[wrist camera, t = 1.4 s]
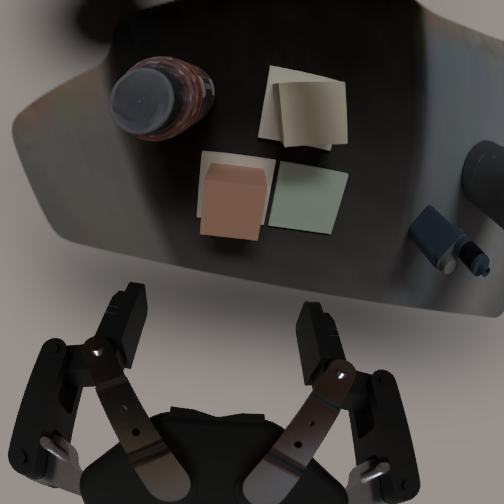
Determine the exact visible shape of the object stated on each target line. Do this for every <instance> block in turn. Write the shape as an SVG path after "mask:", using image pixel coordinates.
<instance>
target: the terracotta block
mask: <svg viewBox="0 0 504 504" xmlns="http://www.w3.org/2000/svg"><path fill="white" fill-rule="evenodd" d="M266 192H267V182H266V177H265V173H264V169H260V168H252V167H245V166H237V165H229V164H220V163H211V165H210V167H209V169H208V172H207V174H206V176H205V179H204V188H203V200H202V213H201V228H200V234H203V235H212V236H221V237H230V238H238V239H247V240H256V241H258V235H259V230H260V225H261V219H262V214H263V209H264V203H265V198H266Z"/></svg>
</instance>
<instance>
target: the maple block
mask: <svg viewBox="0 0 504 504" xmlns="http://www.w3.org/2000/svg"><path fill="white" fill-rule="evenodd" d="M272 86H273V95H274V105H275V114H276V124H277V135H278V137H279V139H280V140H281V142H282V144H283V145H284V147H291V146H305V145H325V144H347V111H346V92H345V82H288V83H276V84H272Z"/></svg>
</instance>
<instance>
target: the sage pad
mask: <svg viewBox="0 0 504 504" xmlns="http://www.w3.org/2000/svg"><path fill="white" fill-rule="evenodd" d="M347 178H348V174H347V173H343V172H339V171H334V170H329V169H324V168H319V167H314V166H309V165H304V164H298V163H292V162H286V161H280V166H279V171H278V176H277V181H276V187H275V192H274V197H273V202H272V207H271V212H270V217H269V222H268V226H275V227H283V228H290V229H298V230H305V231H313V232H320V233H327V234H331V232H332V228H333V225H334V222H335V219H336V216H337V212H338V209H339V206H340V202H341V199H342V196H343V192H344V189H345V185H346V182H347Z"/></svg>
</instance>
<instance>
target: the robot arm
mask: <svg viewBox="0 0 504 504" xmlns="http://www.w3.org/2000/svg"><path fill="white" fill-rule="evenodd" d="M462 180H463V189H464V193H465V195H466V197H467V199H468V200H469V201H470V202H471V203H472V204H474V205H475V206H476V207H477V208H479V209H480V210H481V211H482V212H484V213H485V214H486V215H487V216H488V217H489V218H491V219H492V220H493V221H494V222H495V223H497V224H498V225H499V226H500V227H501V228H502V229H503V230H504V147H502V146H500V145H498V144H496V143H494V142H491V141H482V142H480V143H478V144H477V145H476V146H474V148H473V149H472V150H471V152H470V153H469V155H468V157H467V160H466V162H465V165H464V170H463V177H462ZM147 309H148V306H147V298H146V290H145V285H144V284H141V283H134V282H130V283H129V284H128V286H127V288H126V290H125V291H118V292H117V293H116V294H115V295H114V296H113V297H112V299H111V301H110V303H109V306H108V307H107V310H106V313H105V314H104V316H103V318H102V321H101V323H100V325H99V327H98V330H97V332H96V334H95V336H94V337H91V338H89V339H88V340H86V341H85V343H84V344H82V345H69V346H66V344H65V342H64V341H63V340H61V339H58V338H52V339H49V340H48V341H46V342H45V343H44V344H43V346H42V348H41V351H40V353H39V355H38V358H37V360H36V363H35V365H34V368H33V370H32V373H31V376H30V379H29V381H28V384H27V387H26V390H25V393H24V396H23V399H22V402H21V405H20V408H19V412H18V415H17V419H16V422H15V426H14V430H13V434H12V438H11V442H10V447H9V451H8V458H9V462H10V464H11V466H12V467H13V469H14V470H15V471H17V472H18V473H20V474H22V475H25V476H26V477H27V478H29V479H31V480H33V481H36V482H38V483H40V484H43V485H47V486H49V487H52V488H61V489H64V490H66V491H69V492H72V493H75V494H78V495H81V496H82V499H83V501H84V504H398V503H401V502H405V501H408V500H411V499H412V498H414V497H415V496H416V495H417V493H418V491H419V489H420V478H419V473H418V468H417V463H416V458H415V453H414V448H413V444H412V439H411V435H410V431H409V427H408V423H407V419H406V415H405V411H404V408H403V404H402V400H401V397H400V393H399V390H398V386H397V383H396V380H395V378H394V376H393V375H392V374H391V373H390V372H388V371H386V370H377V371H375V372H374V373H373V374H372V375H371V374H367V373H363V372H359V371H356V369H355V367H354V366H353V365H352V364H351V363H350V362H348V361H346V358H345V354H344V351H343V348H342V344H341V341H340V338H339V336H338V335H339V334H338V331H337V328H336V325H335V321H334V319H333V318H332V317H331V316H330V314H329V313H323V310H322V307H321V304H320V303H319V302H307V301H306V302H305V303H304V304H303V307H302V310H301V312H300V315H299V318H298V320H297V323H296V336H297V342H298V348H299V353H300V359H301V365H302V371H303V377H304V383H305V385H312V388H313V391H312V392H311V394H310V395H309V397H308V398H307V400H306V401H305V403H304V404H303V405H302V407H301V408H300V410H299V411H298V413H297V414H296V415H295V417H294V418H293V420H292V421H291V422H290V424H289V425H288V426H287V428H286V429H283V428H282V427H281V426H279V425H277V424H275V423H273V422H270V421H268V420H265V416H264V414H244V413H243V414H242V413H241V414H235V415H229V416H223V417H215V416H211V415H208V414H206V413H203V412H200V411H197V410H194V409H185V408H178V407H172V406H171V409H170V412H165V413H160V414H157V415H154V416H152V417H150V418H149V417H148V415H147V414H146V412H145V410H144V408H143V407H142V405H141V403H140V401H139V399H138V398H137V396H136V394H135V392H134V390H133V388H132V386H131V384H130V383H129V381H128V379H127V377H126V376H125V374H124V372H123V370H124V368H129V369H131V367H132V363H133V360H134V356H135V353H136V349H137V346H138V343H139V339H140V336H141V333H142V329H143V326H144V323H145V320H146V317H147ZM91 386H95V387H96V388H95V389H96V392H97V395H98V397H99V399H100V402H101V404H102V406H103V408H104V411H105V413H106V415H107V417H108V419H109V421H110V423H111V425H112V427H113V429H114V431H115V433H116V435H117V437H118V439H119V441H120V442H119V443H118V444H116V445H115V446H114V447H112V448H111V449H110V450H109V451H107V452H106V453H105V454H103V455H102V456H101V457H99V458H98V459H97V460H95V461H94V462H93V463H92V464H90V465H89V466H88V467H87V468H86V469H85V470H84V471H82V470H81V468H80V466H79V462H78V453H77V451H76V449H75V448H74V447H73V446H72V445H71V444H70V443H71V437H72V432H73V427H74V422H75V418H76V414H77V409H78V405H79V401H80V397H81V393H82V389H83V387H91ZM341 409H344V410H348V411H349V417H350V423H351V429H352V436H353V443H354V450H355V458H356V467H355V468H354V469H352V471H351V472H350V474H349V482H348V485H347V487H346V488H344V487H343V486H342V485H341V484H340V483H339V482H338V481H337V480H336V479H335V478H334V477H333V476H332V475H331V474H330V473H328V472H327V471H326V470H325V469H324V468H323V467H322V466H321V465H320V464H319V463H318V462H317V461H316V460H315V459H314V458H313V456H314V454H315V452H316V451H317V449H318V448H319V446H320V444H321V443H322V441H323V440H324V438H325V437H326V435H327V433H328V431H329V430H330V428H331V426H332V425H333V423H334V421H335V420H336V418H337V416H338V414H339V412H340V410H341Z"/></svg>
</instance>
